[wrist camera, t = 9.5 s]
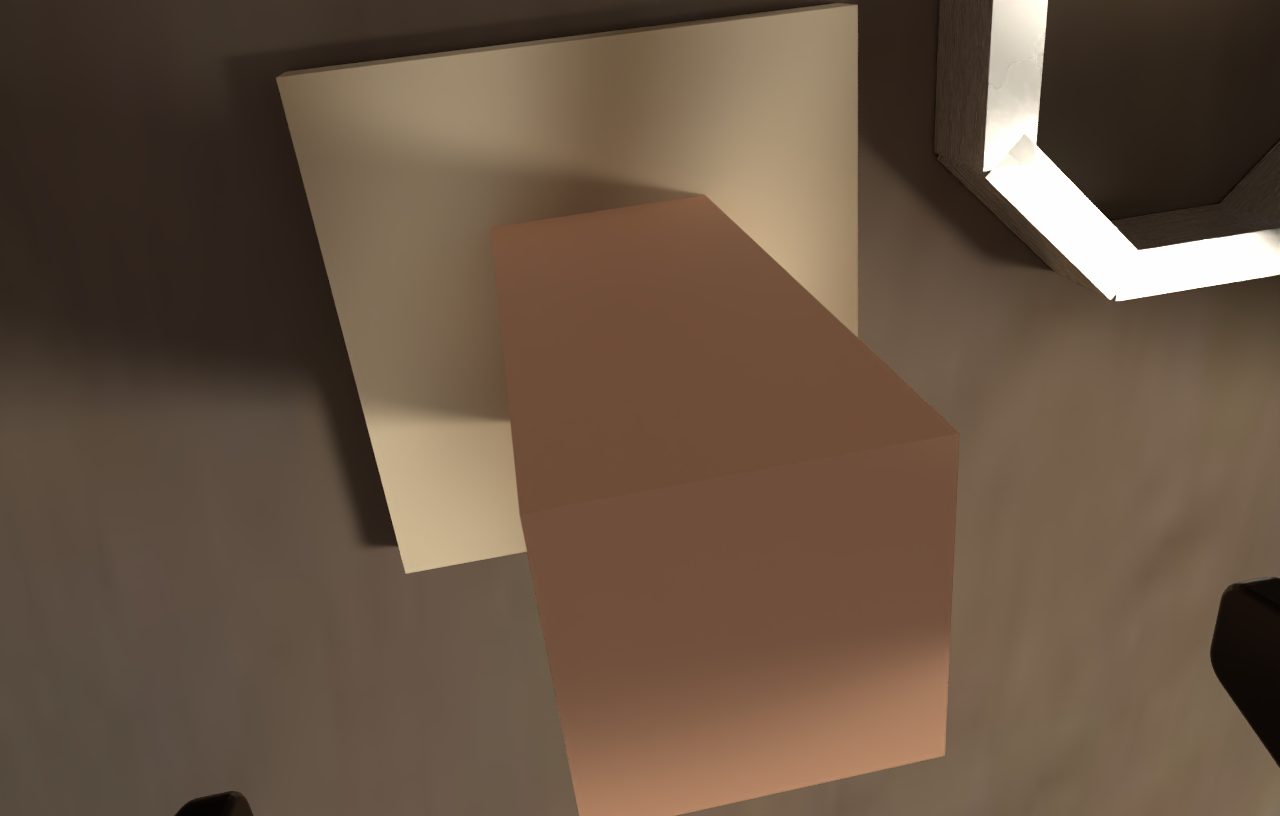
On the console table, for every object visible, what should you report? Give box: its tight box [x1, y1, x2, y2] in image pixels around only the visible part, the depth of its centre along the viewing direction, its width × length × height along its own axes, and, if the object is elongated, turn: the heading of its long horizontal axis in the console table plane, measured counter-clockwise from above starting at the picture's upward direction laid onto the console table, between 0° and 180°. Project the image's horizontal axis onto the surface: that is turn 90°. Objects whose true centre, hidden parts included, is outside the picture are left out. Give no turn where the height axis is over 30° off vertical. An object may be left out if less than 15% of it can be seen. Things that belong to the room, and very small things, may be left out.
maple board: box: [276, 3, 858, 573], centre depth 18 cm, size 10×10×1 cm
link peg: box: [491, 195, 960, 816], centre depth 14 cm, size 4×4×10 cm
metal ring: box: [934, 0, 1280, 301], centre depth 18 cm, size 10×10×2 cm
